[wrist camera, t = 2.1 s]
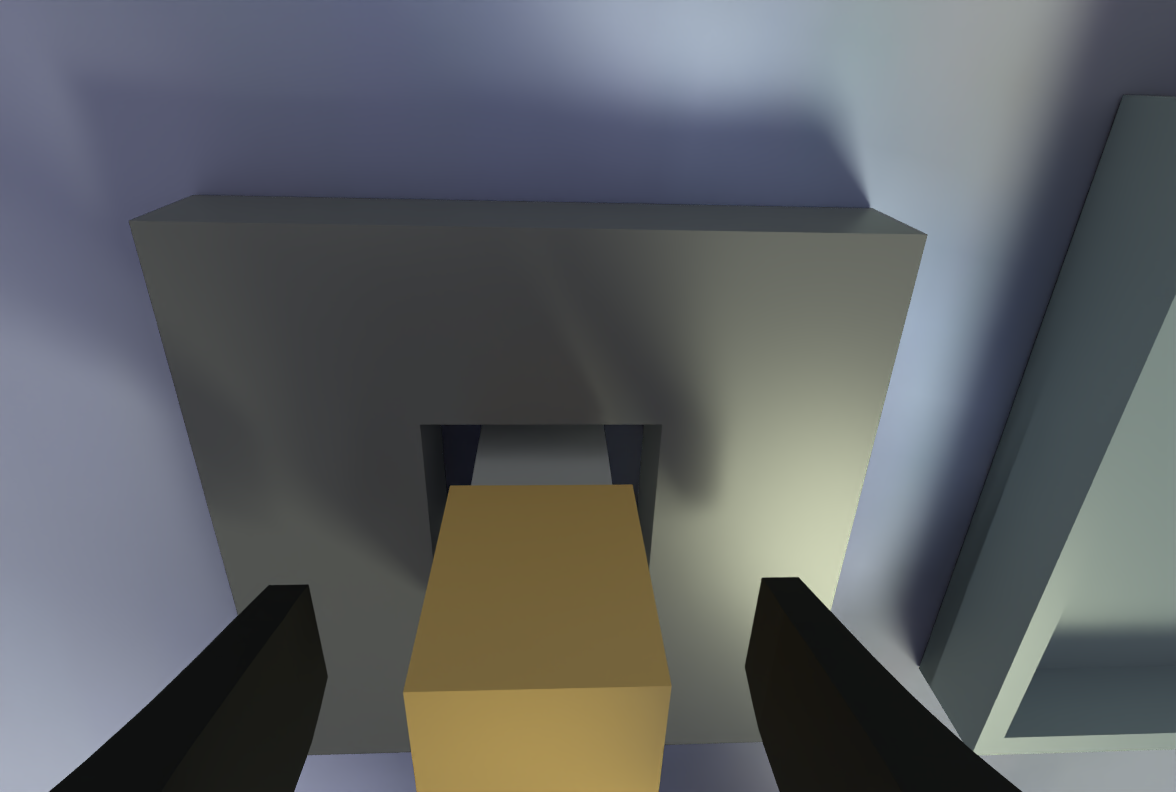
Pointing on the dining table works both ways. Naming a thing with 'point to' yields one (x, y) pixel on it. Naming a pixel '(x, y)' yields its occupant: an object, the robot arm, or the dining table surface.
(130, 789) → the robot arm
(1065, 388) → the parts tray
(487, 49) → the dining table surface
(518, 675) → the block
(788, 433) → the fuse holder
